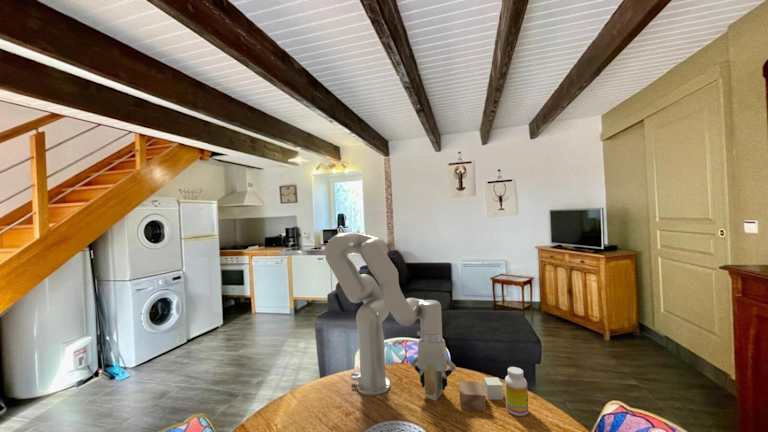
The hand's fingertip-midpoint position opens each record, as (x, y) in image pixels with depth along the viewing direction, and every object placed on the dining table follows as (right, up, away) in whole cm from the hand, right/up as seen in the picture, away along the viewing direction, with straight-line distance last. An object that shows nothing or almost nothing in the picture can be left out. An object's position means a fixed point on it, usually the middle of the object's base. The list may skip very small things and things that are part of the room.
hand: (433, 386), depth 109 cm
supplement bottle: (+25, -2, -10) cm, 27 cm away
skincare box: (0, -3, 0) cm, 3 cm away
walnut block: (+12, -3, -5) cm, 13 cm away
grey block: (+21, -2, -2) cm, 21 cm away
